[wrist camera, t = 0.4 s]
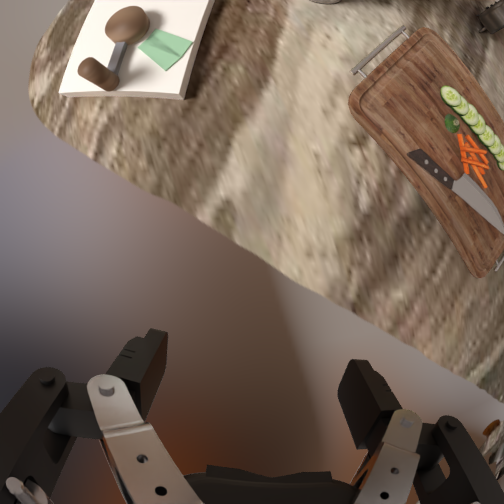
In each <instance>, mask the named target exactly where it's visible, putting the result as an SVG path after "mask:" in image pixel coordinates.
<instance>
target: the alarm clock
mask: <svg viewBox="0 0 504 504" xmlns="http://www.w3.org/2000/svg"><path fill="white" fill-rule="evenodd" d="M490 6H491V7H490V8H489V7H486V10H485V11H484V12H482V13H481V14H480V15H476V16H479V19H480V21H481V22H482V24H483V25H484V27H483V28H482V29H481V30H479V32H480V33H481V32H482V31H485V30H488V31H489V32H490V34H493V33H495V32H497V31H499V30H500V29H502V28H504V0H500V1H498V2H495V4H494V5H490Z"/></svg>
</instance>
